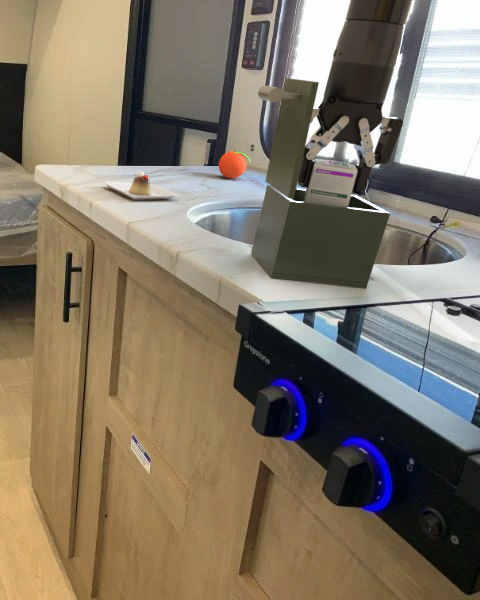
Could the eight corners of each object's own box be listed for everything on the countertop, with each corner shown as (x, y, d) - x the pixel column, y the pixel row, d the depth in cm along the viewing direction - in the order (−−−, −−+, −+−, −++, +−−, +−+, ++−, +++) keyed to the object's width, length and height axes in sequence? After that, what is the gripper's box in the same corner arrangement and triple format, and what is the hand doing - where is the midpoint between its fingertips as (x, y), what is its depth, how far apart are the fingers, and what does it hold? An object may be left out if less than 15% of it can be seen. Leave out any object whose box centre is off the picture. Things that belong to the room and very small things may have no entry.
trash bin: (336, 263, 93) (356, 195, 89) (366, 288, 83) (390, 213, 79) (250, 254, 93) (267, 184, 88) (270, 278, 83) (290, 201, 79)
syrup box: (330, 272, 84) (361, 169, 78) (287, 263, 86) (314, 161, 80) (328, 261, 89) (357, 163, 84) (288, 253, 91) (313, 156, 85)
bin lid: (291, 78, 83) (255, 75, 83) (319, 82, 73) (278, 78, 73) (270, 182, 88) (237, 179, 88) (294, 198, 78) (256, 195, 78)
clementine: (248, 179, 157) (254, 152, 154) (245, 183, 150) (252, 155, 148) (218, 174, 159) (223, 147, 156) (214, 177, 153) (219, 149, 150)
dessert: (180, 201, 122) (184, 177, 120) (131, 201, 116) (135, 177, 114) (146, 187, 132) (150, 165, 130) (100, 187, 126) (103, 164, 124)
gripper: (320, 55, 73) (286, 189, 79) (433, 69, 74) (391, 201, 80) (299, 55, 80) (270, 178, 86) (403, 68, 81) (366, 189, 87)
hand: (328, 189), depth 83 cm, fingers closed on syrup box, 7 cm apart
